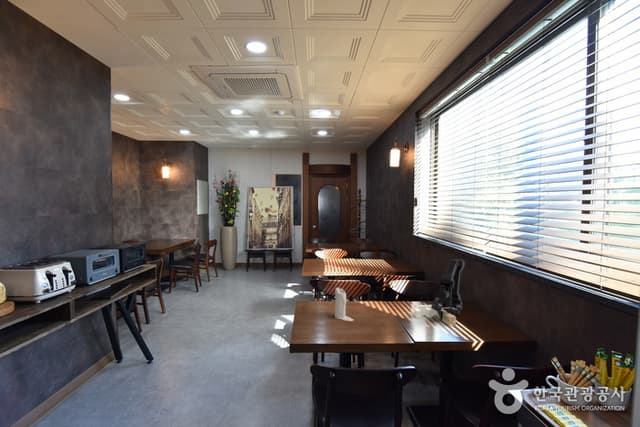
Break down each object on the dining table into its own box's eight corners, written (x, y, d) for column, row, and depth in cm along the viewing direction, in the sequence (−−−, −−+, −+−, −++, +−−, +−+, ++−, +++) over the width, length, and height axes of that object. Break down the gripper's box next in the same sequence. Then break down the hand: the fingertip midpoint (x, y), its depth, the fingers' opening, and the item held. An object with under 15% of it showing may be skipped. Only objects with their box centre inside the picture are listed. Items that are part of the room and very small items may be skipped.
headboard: (440, 314, 227) (440, 302, 227) (444, 316, 221) (444, 304, 221) (412, 315, 223) (412, 303, 223) (416, 318, 217) (416, 305, 217)
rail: (442, 317, 221) (442, 309, 220) (455, 325, 205) (455, 317, 205) (436, 317, 220) (436, 309, 220) (449, 325, 204) (449, 317, 204)
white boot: (350, 322, 207) (351, 291, 207) (332, 317, 215) (333, 287, 215) (356, 319, 213) (356, 289, 212) (338, 314, 221) (339, 285, 221)
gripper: (452, 292, 222) (451, 315, 222) (427, 293, 218) (426, 316, 218) (462, 297, 211) (461, 320, 211) (436, 298, 207) (435, 322, 208)
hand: (446, 319), depth 212 cm, fingers open, 7 cm apart
